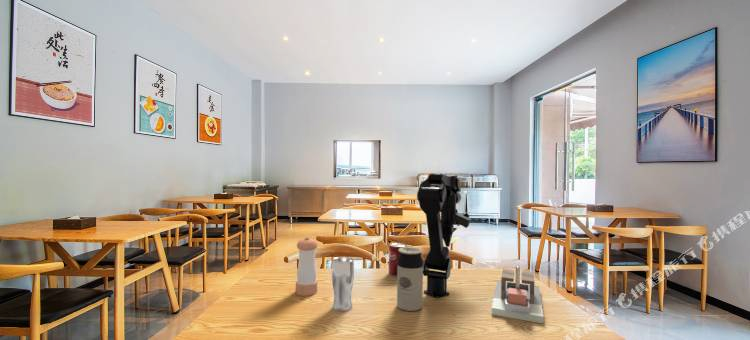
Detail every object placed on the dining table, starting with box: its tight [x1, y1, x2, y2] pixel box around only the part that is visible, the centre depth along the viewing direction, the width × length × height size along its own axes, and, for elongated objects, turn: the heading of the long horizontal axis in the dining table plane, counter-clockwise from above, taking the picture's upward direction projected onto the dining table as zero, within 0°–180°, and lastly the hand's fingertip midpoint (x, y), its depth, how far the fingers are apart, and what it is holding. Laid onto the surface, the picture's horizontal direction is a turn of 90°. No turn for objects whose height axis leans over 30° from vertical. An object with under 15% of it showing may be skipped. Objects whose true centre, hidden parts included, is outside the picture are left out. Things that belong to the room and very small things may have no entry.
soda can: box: [388, 242, 408, 277], centre depth 139 cm, size 7×7×12 cm
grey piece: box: [505, 266, 529, 314], centre depth 103 cm, size 8×7×11 cm
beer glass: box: [331, 256, 355, 312], centre depth 106 cm, size 7×7×15 cm
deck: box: [491, 280, 545, 324], centre depth 112 cm, size 27×14×2 cm, turn 157°
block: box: [508, 288, 527, 306], centre depth 102 cm, size 5×5×5 cm
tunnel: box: [500, 268, 535, 304], centre depth 112 cm, size 10×10×7 cm
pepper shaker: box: [295, 236, 318, 297], centre depth 118 cm, size 7×7×19 cm
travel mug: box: [396, 246, 424, 312], centre depth 107 cm, size 8×8×18 cm
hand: (447, 246), depth 133 cm, fingers closed
